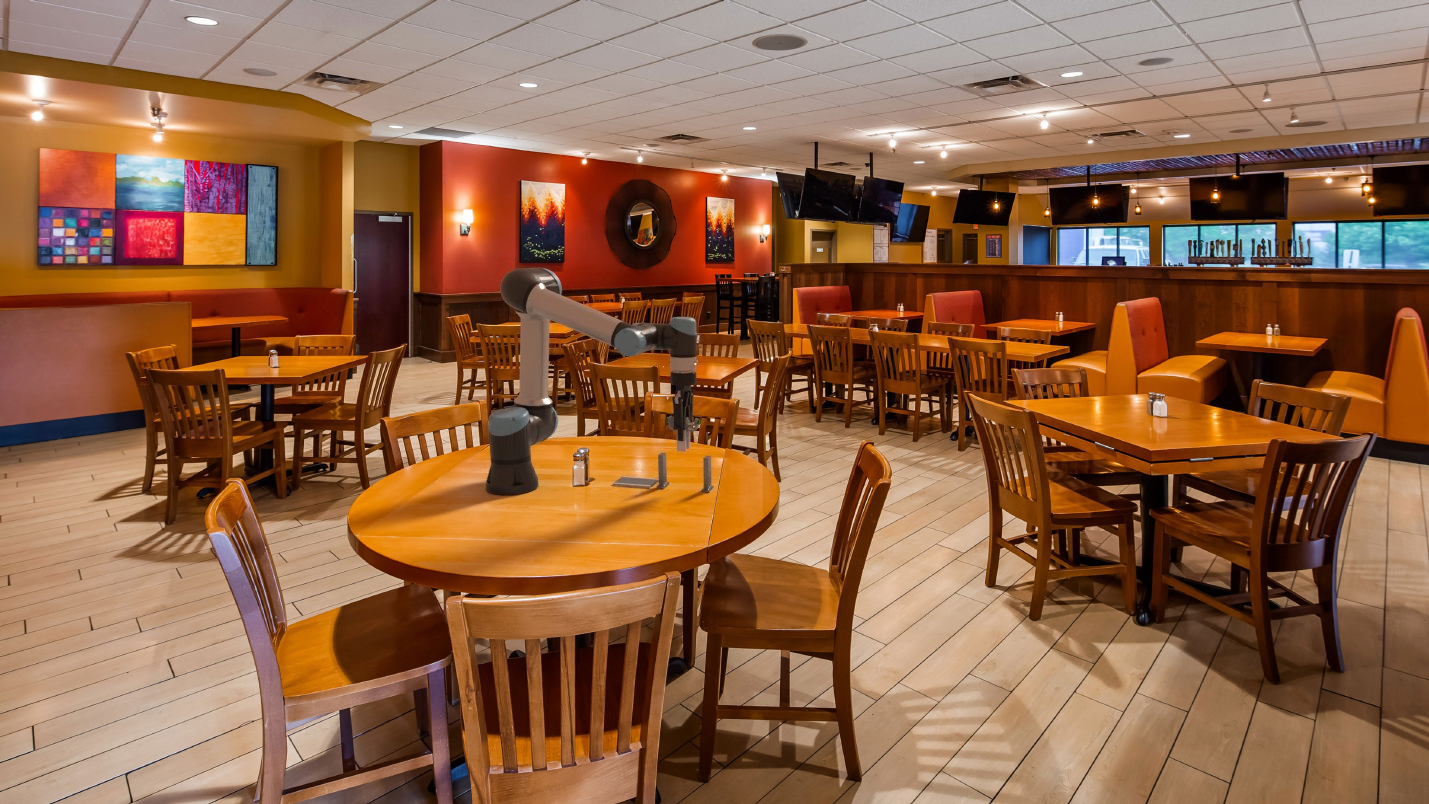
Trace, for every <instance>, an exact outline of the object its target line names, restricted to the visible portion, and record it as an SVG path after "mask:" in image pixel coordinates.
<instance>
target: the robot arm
mask: <svg viewBox="0 0 1429 804" xmlns="http://www.w3.org/2000/svg"><path fill="white" fill-rule="evenodd" d="M499 285H500V286H499V291H500V295H501V297H502V300H503V301H504V303H506V305H508V306H509V307H511V308H512V309H514V310H515V313H516V314H517V315H518V317H520V338H519V341H520V344H519V394H518V396H517V397H515V399H514V400H513V407H511V406H510V407H505V408H500V409H497V410H495V411H493V412H492V413H491V414H490V415H489V417H488V424H487V431H488V440H489V441H488V442H489V452H490V453H489V454H490V455H489V457H490V467H489V470H488V474H487V476H486V480H485V489H486V492H487V493H490V494H493V495H500V496H509V495H511V496H513V495H520V494H521V495H522V494H525V493H529V492H532V491H535V490H537V488H538V487H539V477H538V476H537V475H538V474H537V473H536V470H535V467H534V465H533V462H532V451H531V447H533V446H535V445H537V444H539V443H542V442H544V441H546V440H548V438H550V437H552V436H553V435H554V434H555V432H556V430H557V428H558V426H559V425H558V424H559V416H558V413H557V410H555V408H554V407H553V400H552V399H551V398H550V397H549V358H550V322H552V321H553V322H555V323H557V324H559V325H562V326H564V327H567V328H569V329H571V330H574V331H576V332H578V333H580V334H583V335H585V336H587V337H590V338H592V339H594V340H597V341H599V342H602V343H604V344H607V346H611V347H613V348H615V349H616V351H617V352H618V353H619V354H621V355H622V356H626V357H635V356H637V355H640V354H642V353H645V352H648V351H652V350H659V351H660V350H663V351H669V352H670V354H669V355H670V356H669V358H670V359H669V360H670V361H669V363H670V365H669V368H670V373H669V374H670V384H671V385H672V386H675V387H676V388H675V391H674V396H672V397H671V401H672V406H673V407H672V409H673V411H672V412H673V415H672V416H674V428H673V429H674V430H677V431H676V452H683V453H687V450H690V449H691V432H687V435H688V436H686V430H685V419H686V417H688V420H689V421H690V422H689V423H694V421H693V419H694V417H693V414H694V395H695V390H694V389H692V386H695V385H696V384H697V371H695V370H697V364H699V360H698V359H697V337H698V332H697V320H696V319H695V318H694V317H691V316H688V317H687V316H677V317H676V316H675V317H674V316H673V317H671V318H670V321H669V323H652V322H651V323H650V322H635V323H632V324H630V323H628V322H625V321H623V320H620V319H618V318H616V317H613V316H611V315H610V314H607V313H604V312H602V311H599V310H597V309H594V308H592V307H590V306H587V305H585V304H584V303H583V304H582V303H580V302H578V301H576V300H573V299H571V298H569V297H566V296H564V295H562V292H563V289H562V283H561V280H560V278H559V277H558V275H556V273H554V271H552V270H550V269H548V268H544V267H526V268H521V267H520V268H519V267H518V268H514V269H512V270H509V271H508V272H507V273H506V274H505V275H504V276H503V277H502V279H501V282H500V284H499ZM688 428H691V426H688Z"/></svg>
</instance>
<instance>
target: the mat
mask: <svg viewBox="0 0 1429 804" xmlns="http://www.w3.org/2000/svg"><path fill="white" fill-rule="evenodd" d="M657 483H659V478H653V477H641V476H640V477H639V476H628V475H627V476H626V475H625V476H624V475H622V476H621V477H619V478H618V479H617V480H615V481H614V482H612V486H617V487H628V488H629V487H631V488H642V489H652V487H653V486H654V485H656V484H657Z"/></svg>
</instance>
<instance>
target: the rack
mask: <svg viewBox="0 0 1429 804" xmlns="http://www.w3.org/2000/svg"><path fill="white" fill-rule="evenodd" d="M657 460H658V461H657V462H658V463H657V464H658V465H657V466H658V467H657V469H658V471H657V472H658V475H657V476H658V479H659V481H658V484H657V485H656V486H655V489H660V490H664V489H666V488H667V487H668V486H669V485H670V482H668V481H667V479H668V478H667V475H668V474H667V471H668V470H667V469H668V468H667V452H660V453H659V454H658V455H657ZM702 463H703V466H702V467H703V468H702V469H703V488H701V489H700V491H701V493H710V492H711V491H712V490H713V489H714V488H715V485H712V455H705V456H704V457H703V461H702Z"/></svg>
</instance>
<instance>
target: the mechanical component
mask: <svg viewBox="0 0 1429 804" xmlns="http://www.w3.org/2000/svg"><path fill="white" fill-rule="evenodd" d="M665 422H666V423H667V424H668V425H667V426H668V430H670V431H675V432H677V430H674V429H673V428H674V415H670V416H667V417H665ZM689 422H690V421H689V420H688V417H686V419H685V430H686V436H688V435H687V432H690V433H693V432H696V431H697V430H698V429H699V426H700V425H701V423H702V421H701V418H697V417H695V418H694V421H693V422H692V423H689ZM688 426H689V427H690V428H688ZM691 427H694V428H691Z"/></svg>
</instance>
